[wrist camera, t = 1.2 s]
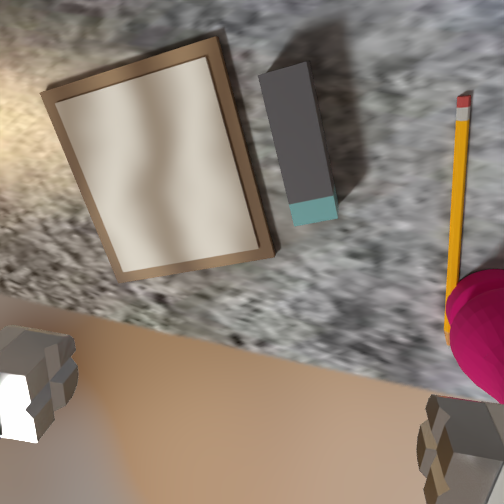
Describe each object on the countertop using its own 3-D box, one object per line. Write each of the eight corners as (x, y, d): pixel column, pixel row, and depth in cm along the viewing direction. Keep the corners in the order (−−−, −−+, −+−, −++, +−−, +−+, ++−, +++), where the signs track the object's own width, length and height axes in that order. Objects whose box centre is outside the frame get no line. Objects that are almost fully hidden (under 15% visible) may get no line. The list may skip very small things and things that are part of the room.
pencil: (469, 94, 28) (472, 95, 27) (452, 346, 36) (454, 351, 35) (456, 96, 28) (458, 96, 28) (442, 345, 36) (443, 350, 35)
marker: (309, 60, 29) (306, 61, 26) (338, 204, 32) (337, 218, 30) (265, 73, 30) (257, 75, 27) (298, 212, 33) (294, 226, 30)
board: (218, 36, 29) (214, 36, 29) (275, 254, 35) (274, 258, 34) (44, 92, 33) (37, 93, 32) (121, 280, 39) (117, 284, 38)
